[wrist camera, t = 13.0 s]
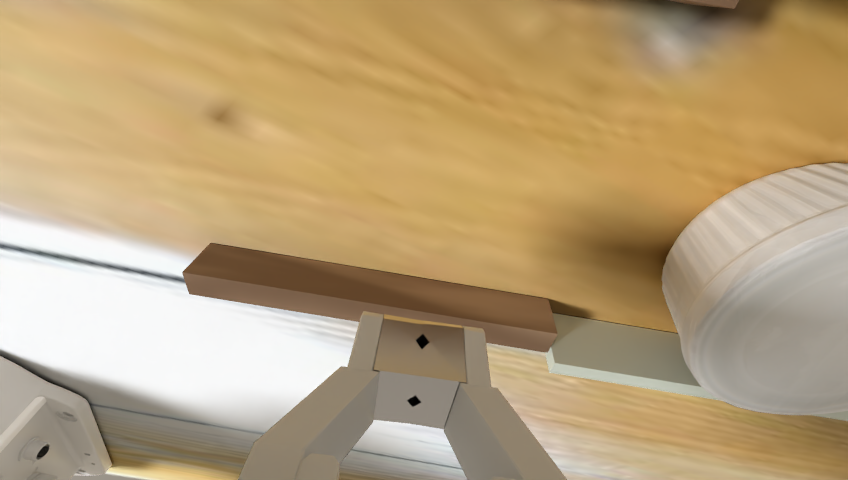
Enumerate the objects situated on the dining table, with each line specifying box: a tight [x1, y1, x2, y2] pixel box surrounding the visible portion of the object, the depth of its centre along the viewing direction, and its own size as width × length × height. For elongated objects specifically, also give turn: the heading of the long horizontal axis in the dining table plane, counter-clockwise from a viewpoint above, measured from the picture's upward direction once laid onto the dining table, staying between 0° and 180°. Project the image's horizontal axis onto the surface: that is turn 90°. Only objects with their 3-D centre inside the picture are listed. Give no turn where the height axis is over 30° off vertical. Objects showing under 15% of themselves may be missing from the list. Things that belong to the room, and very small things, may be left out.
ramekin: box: [662, 163, 848, 415], centre depth 15 cm, size 11×11×5 cm
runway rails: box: [182, 0, 739, 353], centre depth 15 cm, size 17×19×2 cm
